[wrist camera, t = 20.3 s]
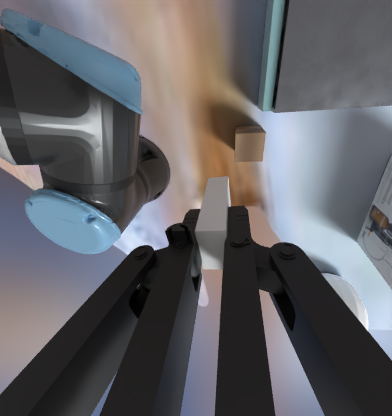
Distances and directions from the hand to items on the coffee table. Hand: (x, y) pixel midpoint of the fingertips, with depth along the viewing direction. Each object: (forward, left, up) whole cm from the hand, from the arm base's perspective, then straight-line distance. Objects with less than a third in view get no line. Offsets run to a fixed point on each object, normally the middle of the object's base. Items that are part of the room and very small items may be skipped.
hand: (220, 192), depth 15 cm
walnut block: (+4, -1, -25) cm, 26 cm away
